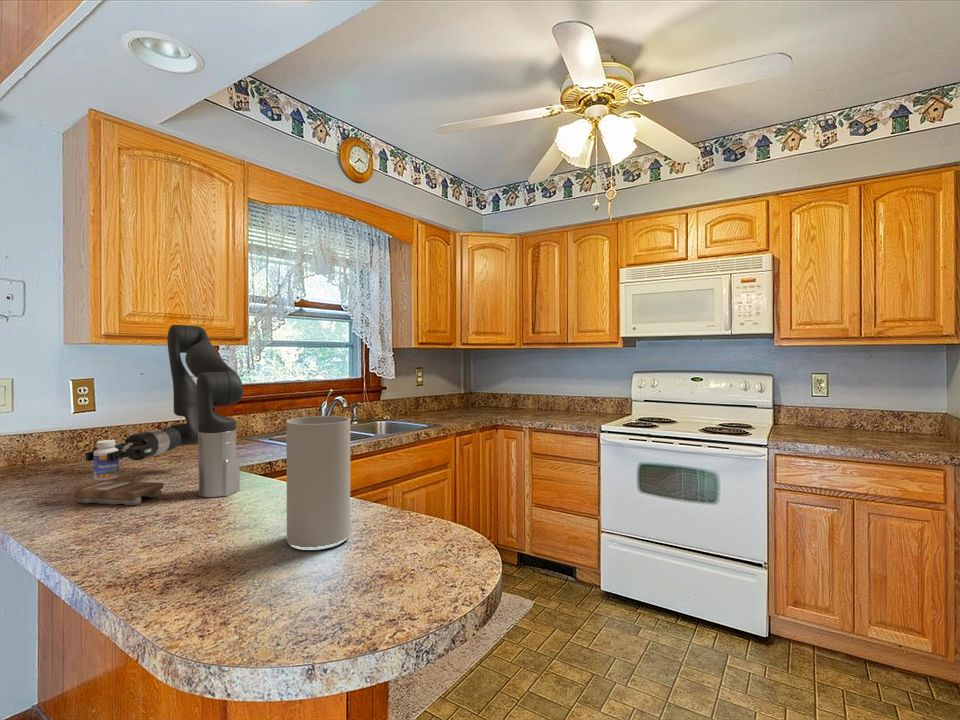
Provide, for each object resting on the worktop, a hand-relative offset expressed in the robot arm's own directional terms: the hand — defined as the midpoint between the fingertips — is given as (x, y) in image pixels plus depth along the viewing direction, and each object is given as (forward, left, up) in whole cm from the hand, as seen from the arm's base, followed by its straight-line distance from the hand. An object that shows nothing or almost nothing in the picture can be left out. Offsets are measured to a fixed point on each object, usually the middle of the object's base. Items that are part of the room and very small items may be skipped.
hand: (97, 457), depth 129 cm
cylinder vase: (-67, +19, -12) cm, 71 cm away
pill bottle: (0, -3, -6) cm, 7 cm away
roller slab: (-4, -2, -12) cm, 13 cm away
